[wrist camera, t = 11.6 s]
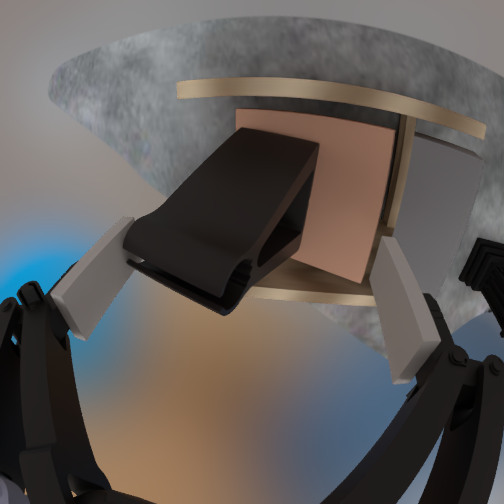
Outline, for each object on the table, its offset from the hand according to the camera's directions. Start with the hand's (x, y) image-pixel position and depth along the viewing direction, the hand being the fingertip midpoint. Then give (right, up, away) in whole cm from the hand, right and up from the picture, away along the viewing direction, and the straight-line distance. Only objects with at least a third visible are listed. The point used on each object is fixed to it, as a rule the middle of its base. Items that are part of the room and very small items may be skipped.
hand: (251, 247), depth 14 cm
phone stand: (+2, +5, +7) cm, 9 cm away
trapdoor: (+9, +5, +7) cm, 12 cm away
